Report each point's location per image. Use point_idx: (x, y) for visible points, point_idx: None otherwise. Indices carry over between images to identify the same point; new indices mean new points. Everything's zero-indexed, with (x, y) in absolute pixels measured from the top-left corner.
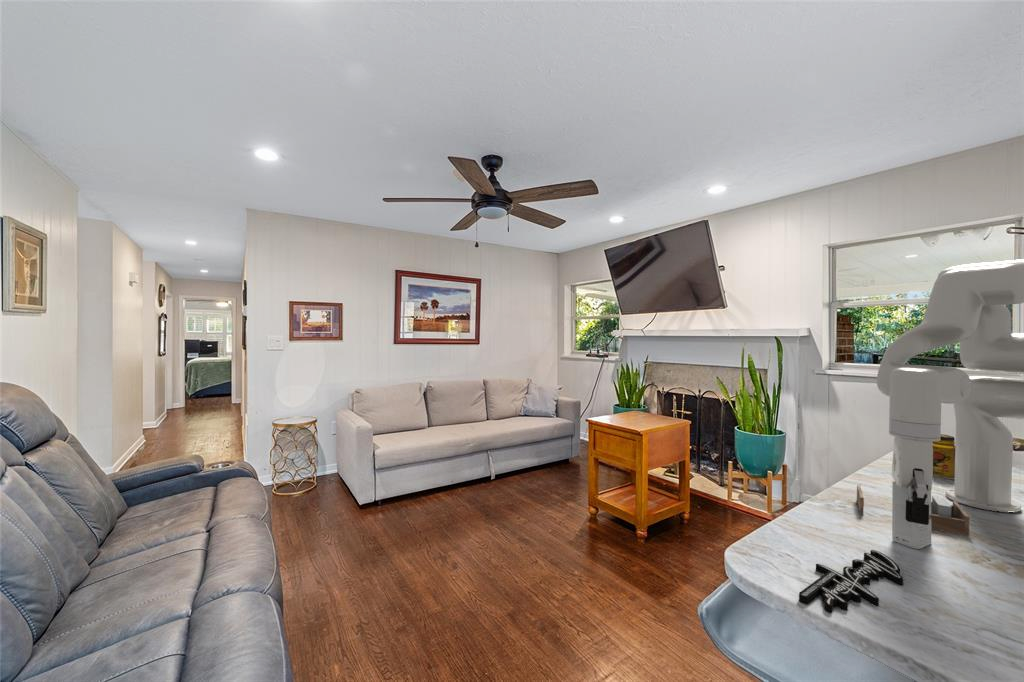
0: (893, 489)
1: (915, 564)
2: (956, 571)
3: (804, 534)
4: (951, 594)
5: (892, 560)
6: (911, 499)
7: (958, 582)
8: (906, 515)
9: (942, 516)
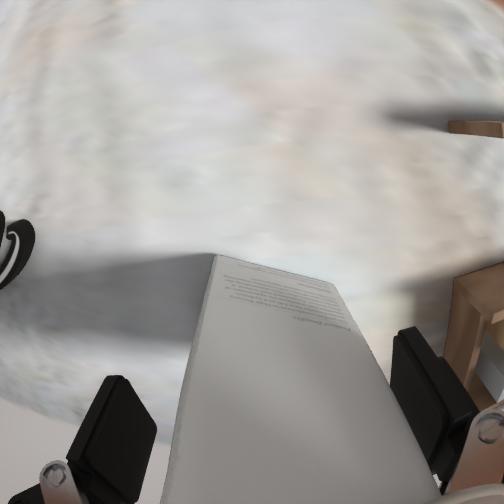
0: (170, 464)
1: (78, 317)
2: (131, 385)
3: (32, 30)
4: (18, 360)
5: (8, 280)
6: (45, 479)
7: (75, 379)
8: (98, 393)
9: (469, 375)
